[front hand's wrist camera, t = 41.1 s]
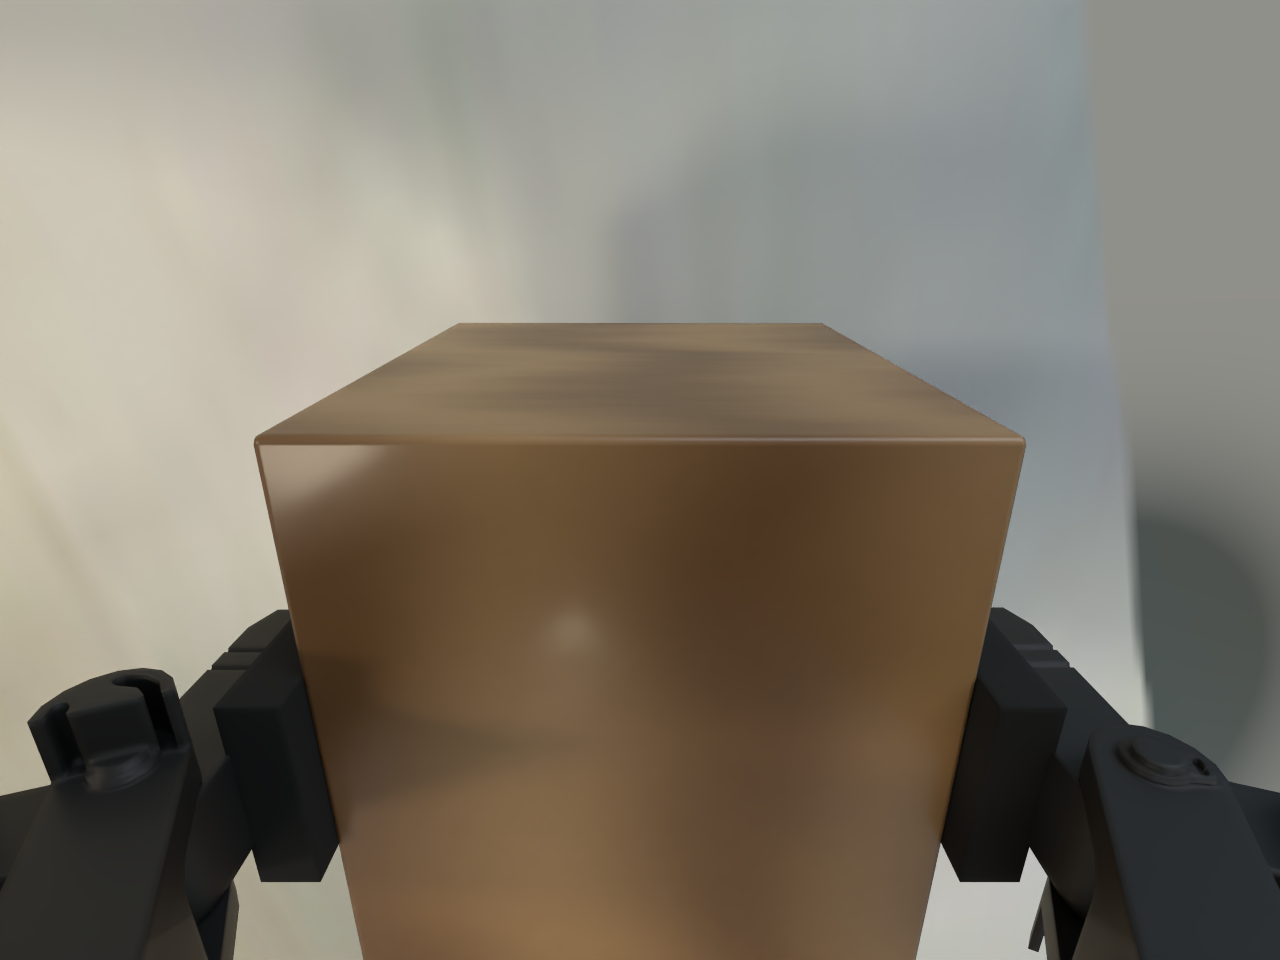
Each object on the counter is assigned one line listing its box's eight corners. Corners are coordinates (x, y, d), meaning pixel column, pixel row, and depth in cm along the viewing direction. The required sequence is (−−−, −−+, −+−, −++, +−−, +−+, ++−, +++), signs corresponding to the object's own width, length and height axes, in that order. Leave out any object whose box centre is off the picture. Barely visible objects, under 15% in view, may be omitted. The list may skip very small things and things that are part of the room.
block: (487, 650, 18) (366, 987, 10) (456, 322, 15) (246, 437, 7) (792, 650, 18) (912, 988, 10) (824, 322, 15) (1031, 437, 7)
